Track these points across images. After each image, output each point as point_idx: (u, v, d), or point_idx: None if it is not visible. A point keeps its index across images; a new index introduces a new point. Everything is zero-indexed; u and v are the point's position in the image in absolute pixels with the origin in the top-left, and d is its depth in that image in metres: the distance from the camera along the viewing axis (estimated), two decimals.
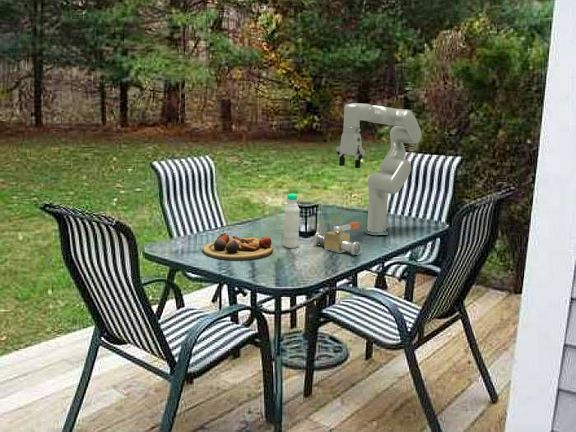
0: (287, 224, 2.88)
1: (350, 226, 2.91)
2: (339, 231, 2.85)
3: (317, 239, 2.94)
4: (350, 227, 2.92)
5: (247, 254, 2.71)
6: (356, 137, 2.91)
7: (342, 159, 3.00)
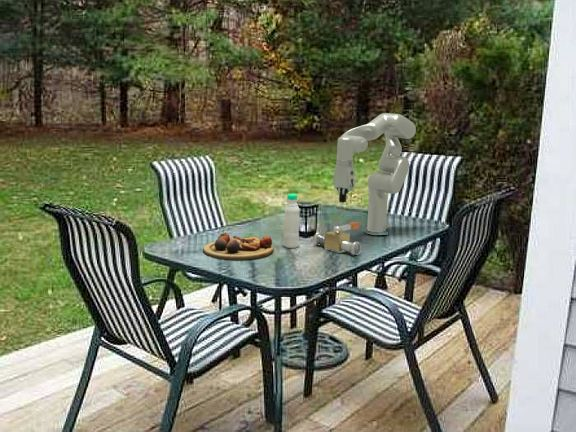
0: (287, 224, 2.88)
1: (350, 226, 2.91)
2: (339, 231, 2.85)
3: (317, 239, 2.94)
4: (350, 227, 2.92)
5: (248, 254, 2.71)
6: (349, 170, 2.88)
7: None
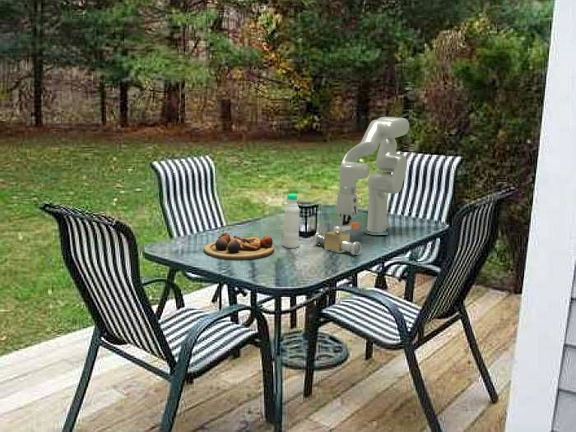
0: (287, 224, 2.88)
1: (350, 226, 2.91)
2: (339, 231, 2.85)
3: (317, 239, 2.94)
4: (350, 227, 2.91)
5: (249, 254, 2.72)
6: (352, 198, 2.89)
7: None
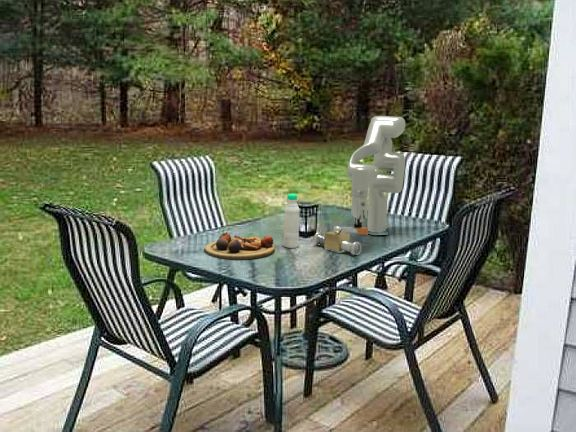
0: (287, 224, 2.88)
1: (354, 230, 2.85)
2: (336, 231, 2.85)
3: (317, 239, 2.94)
4: (355, 231, 2.85)
5: (249, 253, 2.72)
6: (359, 201, 2.82)
7: None
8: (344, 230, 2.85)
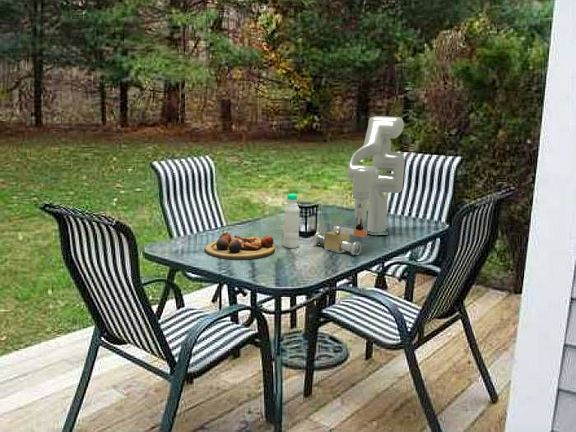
0: (287, 224, 2.88)
1: (352, 231, 2.82)
2: (334, 231, 2.86)
3: (317, 239, 2.94)
4: (352, 232, 2.82)
5: (250, 253, 2.72)
6: (357, 203, 2.78)
7: None
8: (342, 231, 2.84)
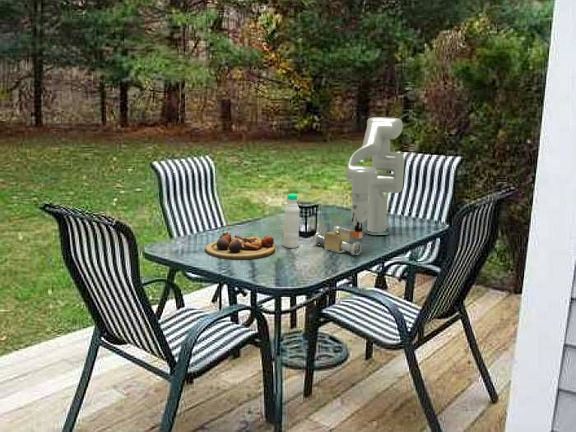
0: (287, 224, 2.88)
1: (349, 232, 2.80)
2: (334, 230, 2.86)
3: (317, 239, 2.94)
4: (349, 233, 2.80)
5: (250, 253, 2.73)
6: (353, 203, 2.76)
7: (358, 229, 2.82)
8: (341, 231, 2.84)
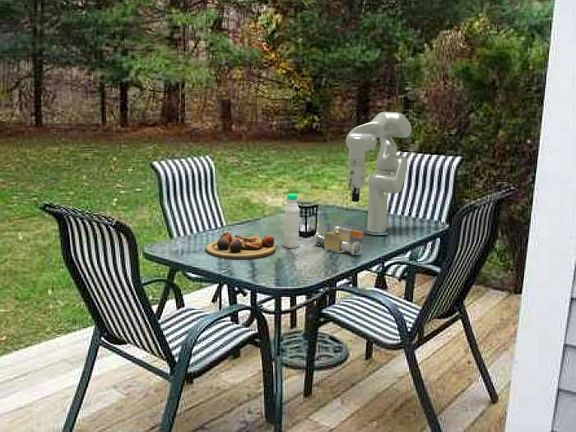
0: (287, 224, 2.88)
1: (349, 232, 2.80)
2: (334, 230, 2.86)
3: (317, 239, 2.94)
4: (349, 233, 2.80)
5: (251, 253, 2.73)
6: (350, 169, 2.85)
7: None
8: (341, 231, 2.84)
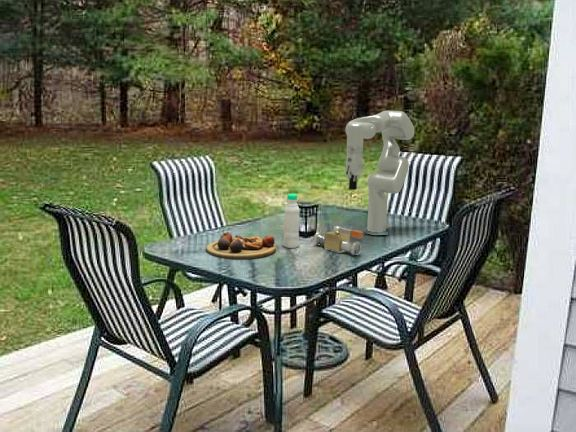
0: (287, 224, 2.88)
1: (349, 232, 2.80)
2: (334, 230, 2.86)
3: (317, 239, 2.94)
4: (349, 233, 2.80)
5: (251, 253, 2.73)
6: (347, 156, 2.86)
7: None
8: (341, 231, 2.84)
